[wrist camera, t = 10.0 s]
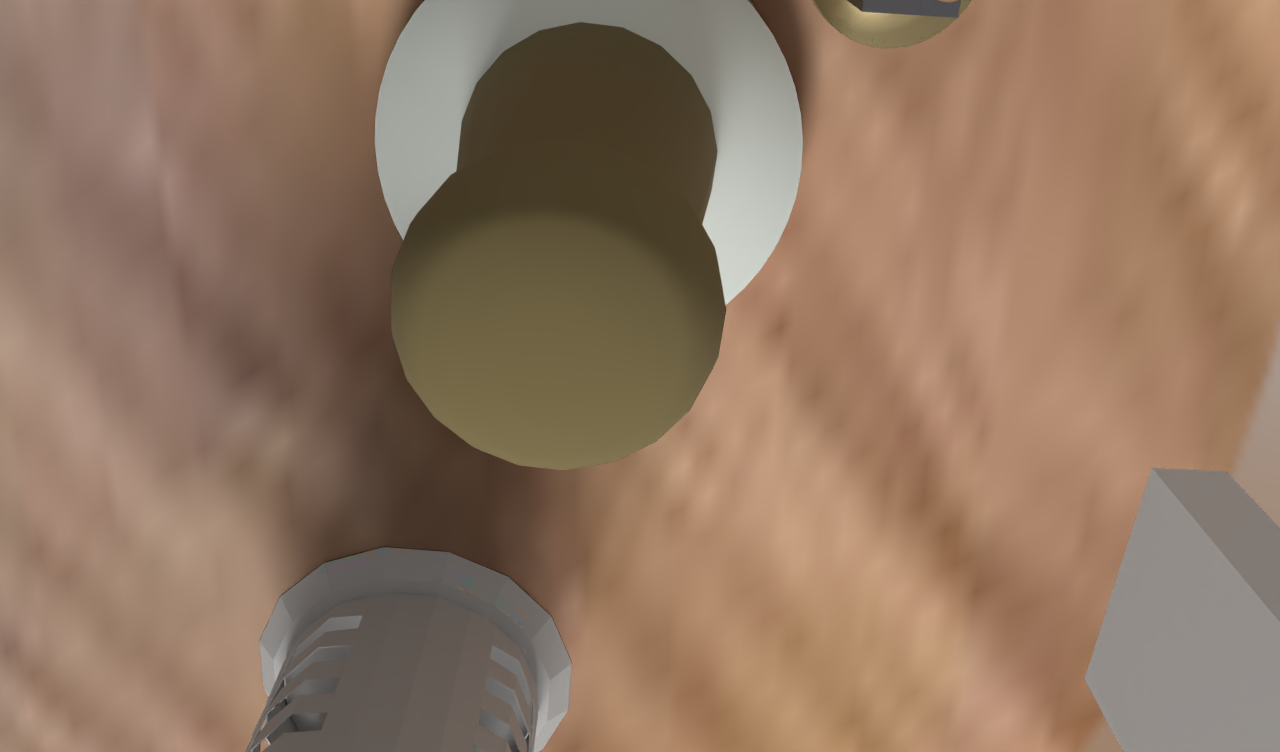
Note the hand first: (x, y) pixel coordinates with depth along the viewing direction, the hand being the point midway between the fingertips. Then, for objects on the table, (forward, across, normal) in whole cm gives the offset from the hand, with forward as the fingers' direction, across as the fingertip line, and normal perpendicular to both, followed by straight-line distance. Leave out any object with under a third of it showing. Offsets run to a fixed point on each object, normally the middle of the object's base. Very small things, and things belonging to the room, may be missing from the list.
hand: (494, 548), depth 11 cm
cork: (+16, 0, 0) cm, 16 cm away
